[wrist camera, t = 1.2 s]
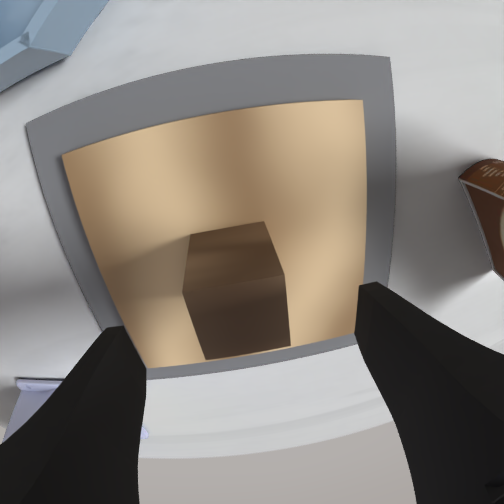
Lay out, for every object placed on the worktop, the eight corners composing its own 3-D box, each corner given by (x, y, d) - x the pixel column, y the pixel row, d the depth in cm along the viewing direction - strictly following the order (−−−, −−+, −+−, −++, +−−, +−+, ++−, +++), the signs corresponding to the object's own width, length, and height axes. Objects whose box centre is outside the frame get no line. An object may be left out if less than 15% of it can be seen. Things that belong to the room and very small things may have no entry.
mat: (133, 376, 18) (132, 380, 17) (30, 122, 10) (25, 123, 9) (376, 333, 18) (378, 337, 18) (385, 57, 10) (389, 57, 10)
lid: (149, 358, 16) (139, 427, 12) (69, 151, 11) (4, 184, 6) (353, 322, 17) (386, 385, 13) (354, 99, 11) (423, 106, 7)
